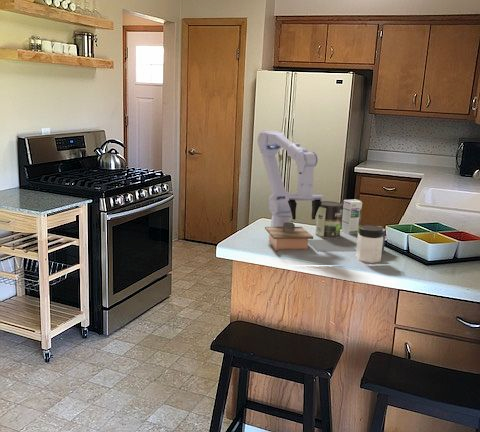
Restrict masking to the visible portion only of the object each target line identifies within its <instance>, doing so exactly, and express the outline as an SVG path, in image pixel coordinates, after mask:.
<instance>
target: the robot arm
mask: <svg viewBox="0 0 480 432" xmlns="http://www.w3.org/2000/svg"><path fill="white" fill-rule="evenodd" d="M257 145H258V149H259V152H260V154H261V158H262V161H263V165H264V169H265V171H266V175H267V179H268V182H269V185H270V189H271V192H272V193H271V195H270V196H269V197H268V209H269V212H270V214H271V215H272V216H271V219H270V220H271V221H270V227H283V222H291V217H292V220H294V221H295V220H296V219H297V217H296V214H297V213H296V212H297V205H298V203H297V201H311V220H316V217H317V211H318V209H319V207H320V205H321V203H322V202H321V201H324V198H325V196H324V195H323V194H313V192H314V191H313V189H314V175H315V174H314V173H315V172H314V171H315V167H316V166H317V165H318V160H319V159H318V155H317V153H315V151H308V149H307V148H304V147H303V146H301V143H299V142H292V141H291V140H289V139H288V138H287V136H286V133H284V132H283V131H281V130H278V131H268V130H267V131H265V130H262V131H260V132H259V134H258V137H257ZM281 149H284V150H285V151H286V153H287V155H288V156H289V158H291V159H292V160H294V161H295V164H296V167H297V168H296V171H297V172H298V174H297V175H298V177H297V193H296V194H291V193H290V192H288V191H287V190H286V189H285V185H284V182H283V178H282V175H281V172H280V168H279V164H278V161H277V157H276V156H277V154H278V153H280V150H281Z"/></svg>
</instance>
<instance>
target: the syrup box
mask: <svg viewBox="0 0 480 432" xmlns="http://www.w3.org/2000/svg"><path fill="white" fill-rule="evenodd" d="M342 204H343V207H342V218H341V229H340V232H344V233H345V234H347V235H354V234H355V235H356V234H357V235H358V233H359V228H360V226H361V221H362V211H363V210H362V209H363V208H362V207H363V202H362V200H360V199H344V200H343V203H342Z"/></svg>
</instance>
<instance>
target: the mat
mask: <svg viewBox="0 0 480 432" xmlns="http://www.w3.org/2000/svg"><path fill="white" fill-rule="evenodd" d="M308 245H310V246H311V247H312V248H313V249H314V250H315V251H316V252H320V253H323V252H332V253H333V252H336V253H337V252H356V248H355V247H354V246H352V245H351V244H350V243H348V242H347V241H345V240H344V239H308Z"/></svg>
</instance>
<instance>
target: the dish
mask: <svg viewBox="0 0 480 432" xmlns="http://www.w3.org/2000/svg"><path fill="white" fill-rule="evenodd" d="M308 240H309V239H273V238H272V236H271V235H270V234H269V233H268V243H269V244H270V245H271V246H272V248H273V249H274V251H275V252H279V251H280V250H283V251H284V250H308V245H309V243H308Z"/></svg>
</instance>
